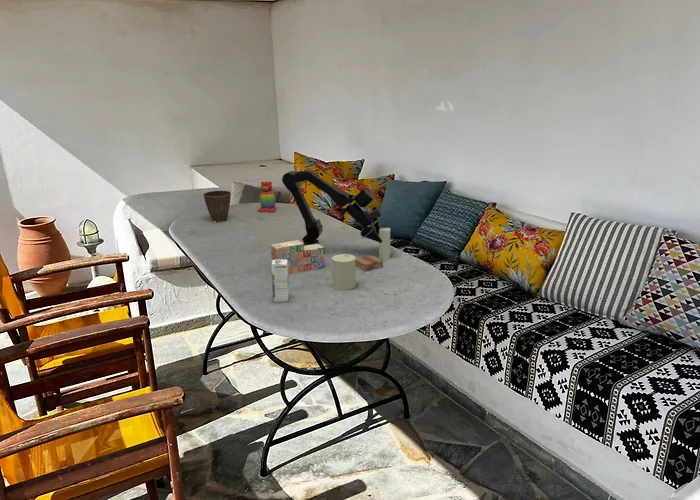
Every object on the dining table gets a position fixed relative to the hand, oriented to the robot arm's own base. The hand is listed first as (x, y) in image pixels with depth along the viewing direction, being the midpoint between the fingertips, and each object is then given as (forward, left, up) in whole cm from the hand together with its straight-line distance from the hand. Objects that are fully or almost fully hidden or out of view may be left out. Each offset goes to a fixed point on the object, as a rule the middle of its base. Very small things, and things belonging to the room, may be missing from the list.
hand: (383, 239), depth 235 cm
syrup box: (-58, -18, -9) cm, 62 cm away
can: (-32, -20, -9) cm, 39 cm away
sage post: (+1, 0, -8) cm, 8 cm away
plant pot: (-40, +104, -9) cm, 112 cm away
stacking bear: (-7, +110, -9) cm, 111 cm away
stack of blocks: (-39, +7, -9) cm, 41 cm away
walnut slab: (-12, -7, -8) cm, 16 cm away
